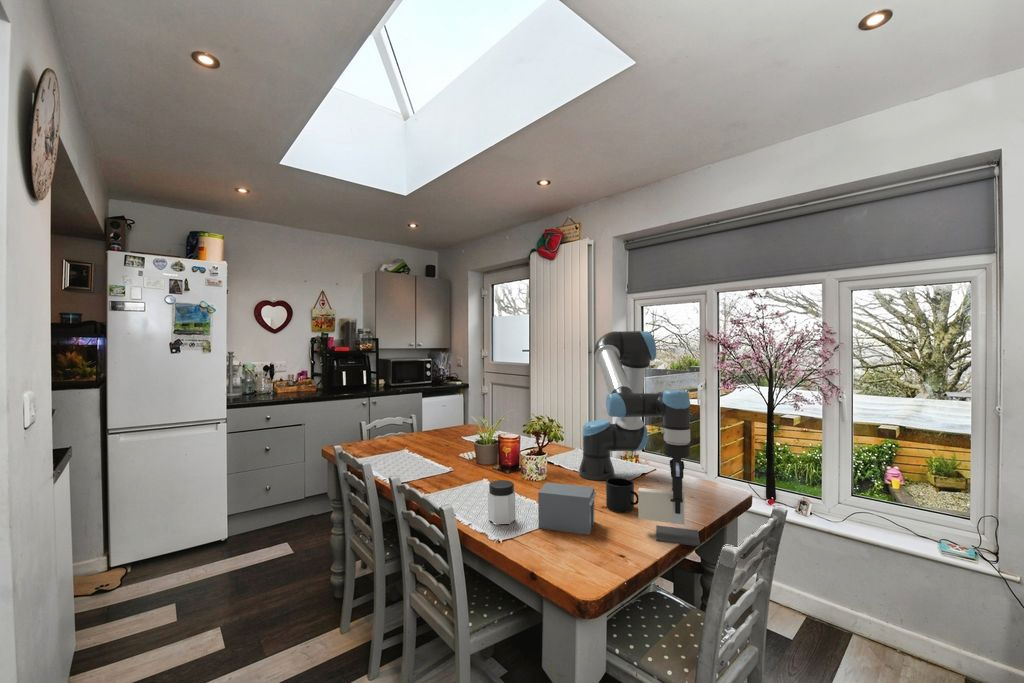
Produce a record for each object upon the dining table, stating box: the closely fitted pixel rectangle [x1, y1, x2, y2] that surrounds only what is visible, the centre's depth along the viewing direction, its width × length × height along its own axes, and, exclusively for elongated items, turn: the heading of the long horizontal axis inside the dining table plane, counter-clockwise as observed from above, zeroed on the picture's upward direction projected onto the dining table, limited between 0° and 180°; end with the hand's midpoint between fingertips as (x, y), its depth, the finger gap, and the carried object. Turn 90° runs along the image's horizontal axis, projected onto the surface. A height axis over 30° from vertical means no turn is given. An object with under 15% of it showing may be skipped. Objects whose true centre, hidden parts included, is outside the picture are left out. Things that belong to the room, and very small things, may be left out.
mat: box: [655, 524, 702, 548], centre depth 130 cm, size 10×12×1 cm
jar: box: [487, 479, 516, 525], centre depth 142 cm, size 9×8×12 cm
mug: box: [605, 477, 638, 513], centre depth 151 cm, size 9×12×9 cm
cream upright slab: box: [637, 487, 686, 525], centre depth 131 cm, size 3×13×8 cm, turn 71°
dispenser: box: [537, 482, 597, 536], centre depth 138 cm, size 10×17×11 cm, turn 71°
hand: (677, 520), depth 129 cm, fingers closed on cream upright slab, 3 cm apart
